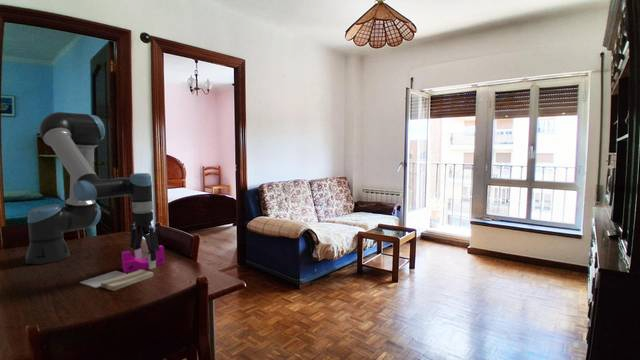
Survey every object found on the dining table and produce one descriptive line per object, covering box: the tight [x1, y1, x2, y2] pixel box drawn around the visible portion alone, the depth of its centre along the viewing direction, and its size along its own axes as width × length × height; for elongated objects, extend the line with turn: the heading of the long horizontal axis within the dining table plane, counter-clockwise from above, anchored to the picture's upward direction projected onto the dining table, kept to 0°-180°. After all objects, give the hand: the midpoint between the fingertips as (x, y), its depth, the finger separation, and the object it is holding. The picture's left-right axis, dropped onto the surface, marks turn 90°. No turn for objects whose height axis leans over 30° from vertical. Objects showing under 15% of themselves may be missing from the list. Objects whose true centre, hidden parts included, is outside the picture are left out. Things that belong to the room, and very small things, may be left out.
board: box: [100, 269, 154, 291], centre depth 123 cm, size 8×15×2 cm, turn 152°
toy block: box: [120, 244, 166, 274], centre depth 138 cm, size 15×6×8 cm, turn 129°
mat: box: [79, 270, 126, 289], centre depth 126 cm, size 10×13×1 cm
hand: (145, 266), depth 138 cm, fingers open, 8 cm apart
